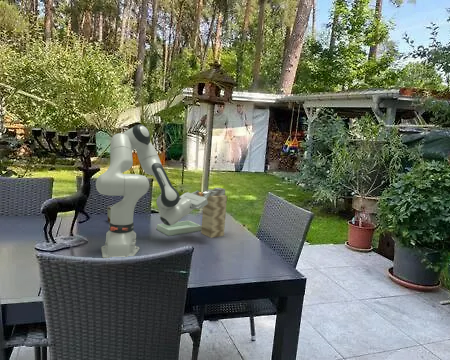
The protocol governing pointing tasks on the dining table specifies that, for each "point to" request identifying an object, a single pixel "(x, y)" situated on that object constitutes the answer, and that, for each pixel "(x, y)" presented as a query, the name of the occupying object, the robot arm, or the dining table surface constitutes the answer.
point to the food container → (109, 212)
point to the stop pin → (204, 193)
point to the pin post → (214, 214)
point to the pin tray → (179, 228)
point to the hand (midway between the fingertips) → (203, 193)
